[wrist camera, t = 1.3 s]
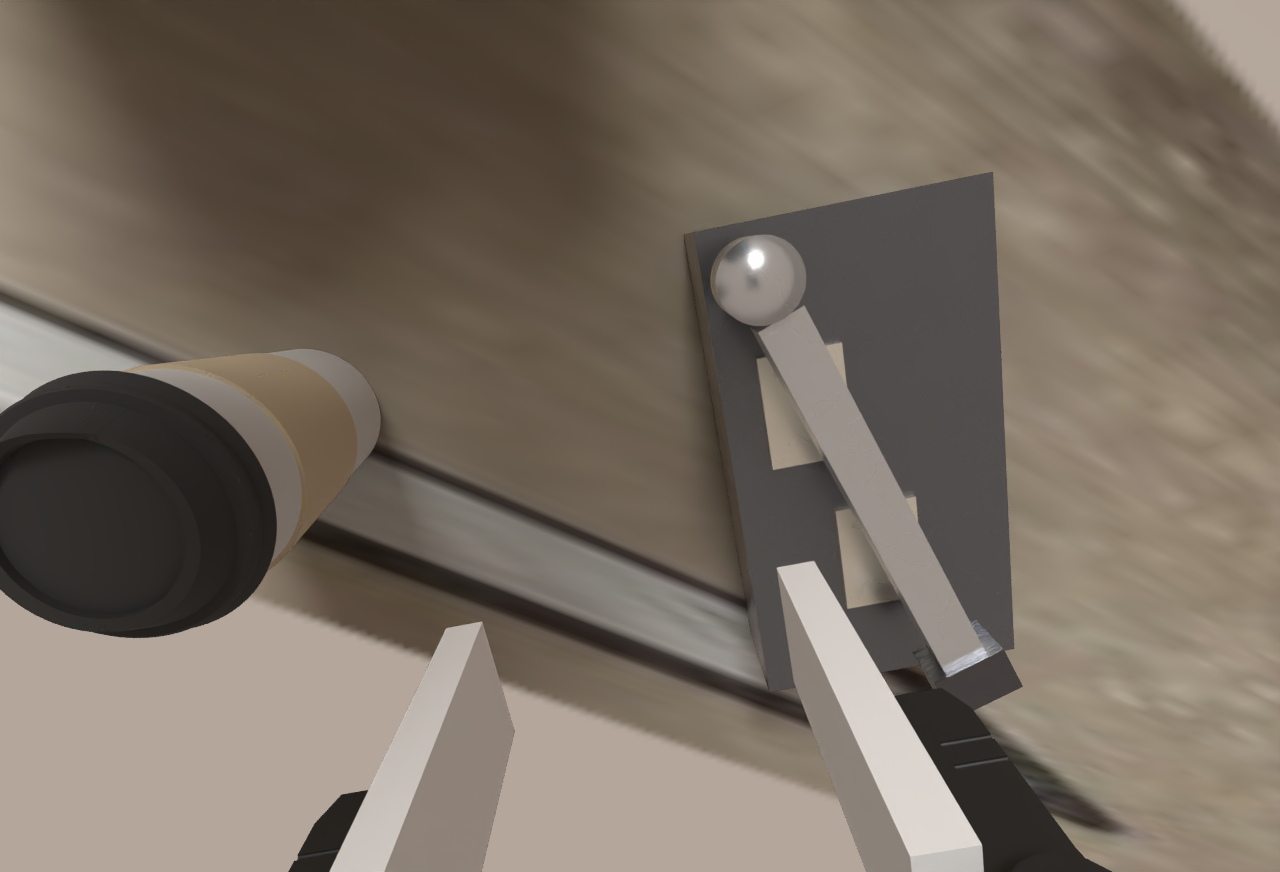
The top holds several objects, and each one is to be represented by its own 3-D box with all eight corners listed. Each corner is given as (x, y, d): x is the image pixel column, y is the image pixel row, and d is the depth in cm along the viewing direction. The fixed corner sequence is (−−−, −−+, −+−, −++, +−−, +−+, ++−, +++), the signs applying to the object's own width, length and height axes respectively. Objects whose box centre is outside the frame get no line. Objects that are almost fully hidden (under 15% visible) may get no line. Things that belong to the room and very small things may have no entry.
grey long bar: (694, 264, 24) (701, 265, 22) (767, 219, 24) (781, 216, 22) (930, 685, 29) (954, 719, 27) (993, 654, 29) (1022, 686, 27)
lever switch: (683, 234, 31) (701, 230, 24) (936, 183, 31) (1036, 162, 23) (752, 640, 37) (783, 740, 30) (964, 602, 37) (1051, 694, 29)
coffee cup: (425, 478, 35) (278, 644, 20) (260, 514, 35) (0, 702, 20) (368, 306, 32) (155, 354, 18) (191, 347, 32) (-159, 427, 18)
